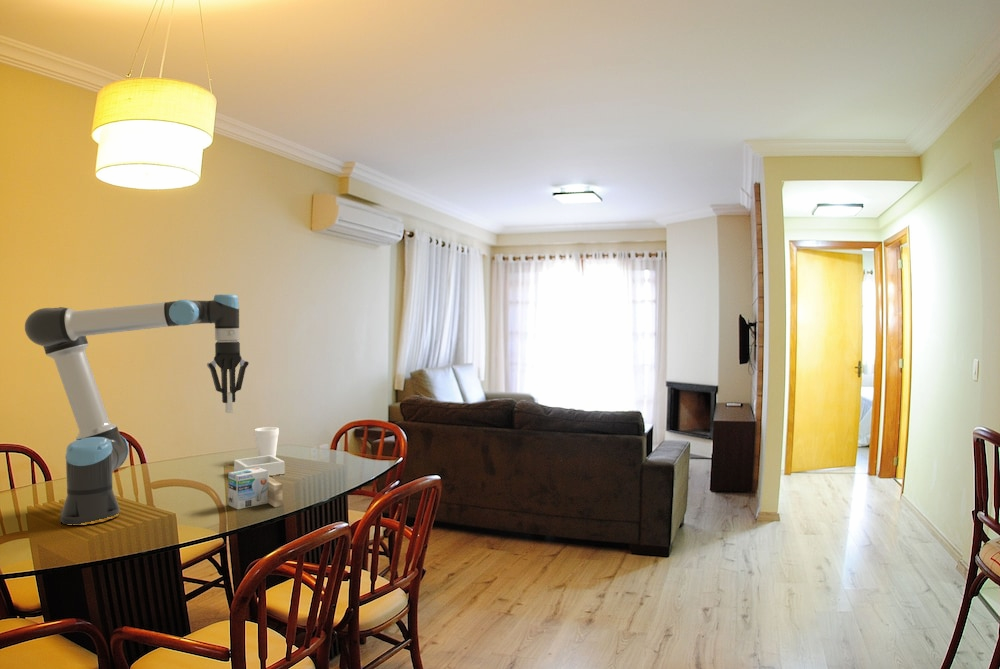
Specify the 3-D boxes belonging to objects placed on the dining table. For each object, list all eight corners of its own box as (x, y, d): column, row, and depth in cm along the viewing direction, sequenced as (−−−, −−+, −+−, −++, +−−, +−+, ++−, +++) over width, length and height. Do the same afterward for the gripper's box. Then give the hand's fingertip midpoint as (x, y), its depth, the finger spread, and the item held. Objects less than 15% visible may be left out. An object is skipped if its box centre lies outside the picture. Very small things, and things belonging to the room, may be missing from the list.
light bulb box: (237, 510, 211) (237, 476, 210) (227, 505, 215) (227, 472, 215) (269, 502, 219) (268, 470, 218) (258, 498, 223) (258, 466, 223)
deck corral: (246, 480, 246) (245, 467, 246) (234, 472, 258) (234, 459, 257) (284, 474, 255) (284, 461, 255) (271, 467, 266) (271, 454, 266)
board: (274, 507, 214) (274, 485, 213) (254, 493, 230) (254, 473, 229) (282, 505, 215) (282, 484, 215) (261, 492, 231) (261, 471, 231)
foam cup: (258, 457, 283) (257, 427, 283) (281, 457, 284) (280, 426, 284) (252, 463, 274) (252, 431, 273) (276, 462, 275) (275, 430, 274)
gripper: (209, 342, 215) (211, 415, 216) (251, 341, 223) (252, 411, 224) (203, 341, 221) (205, 413, 222) (244, 340, 229) (246, 409, 230)
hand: (229, 412), depth 223 cm, fingers closed
